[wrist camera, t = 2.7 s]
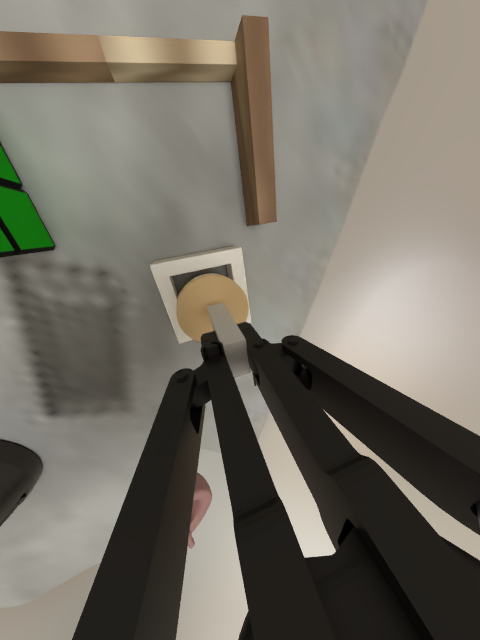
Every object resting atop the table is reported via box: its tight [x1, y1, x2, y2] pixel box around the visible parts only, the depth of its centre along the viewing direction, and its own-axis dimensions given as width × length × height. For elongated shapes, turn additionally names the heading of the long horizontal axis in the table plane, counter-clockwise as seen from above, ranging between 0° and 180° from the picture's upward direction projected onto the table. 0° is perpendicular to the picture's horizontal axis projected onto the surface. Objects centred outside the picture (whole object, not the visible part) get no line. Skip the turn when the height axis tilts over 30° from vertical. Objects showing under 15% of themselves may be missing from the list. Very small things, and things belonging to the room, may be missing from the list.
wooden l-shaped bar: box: [0, 15, 277, 226], centre depth 15 cm, size 32×13×4 cm, turn 99°
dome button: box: [176, 273, 249, 343], centre depth 20 cm, size 7×7×5 cm
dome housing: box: [150, 246, 251, 344], centre depth 23 cm, size 10×10×3 cm
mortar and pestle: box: [188, 473, 212, 548], centre depth 35 cm, size 12×12×12 cm
